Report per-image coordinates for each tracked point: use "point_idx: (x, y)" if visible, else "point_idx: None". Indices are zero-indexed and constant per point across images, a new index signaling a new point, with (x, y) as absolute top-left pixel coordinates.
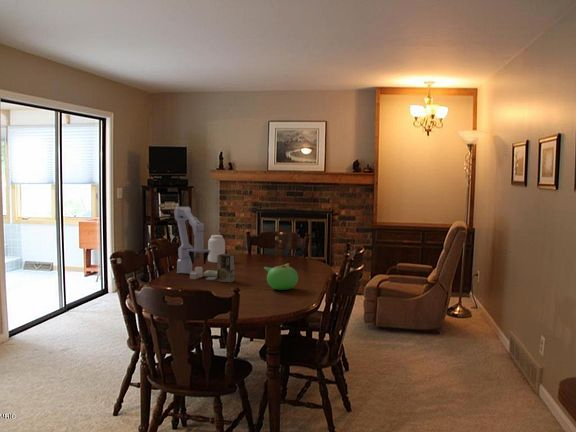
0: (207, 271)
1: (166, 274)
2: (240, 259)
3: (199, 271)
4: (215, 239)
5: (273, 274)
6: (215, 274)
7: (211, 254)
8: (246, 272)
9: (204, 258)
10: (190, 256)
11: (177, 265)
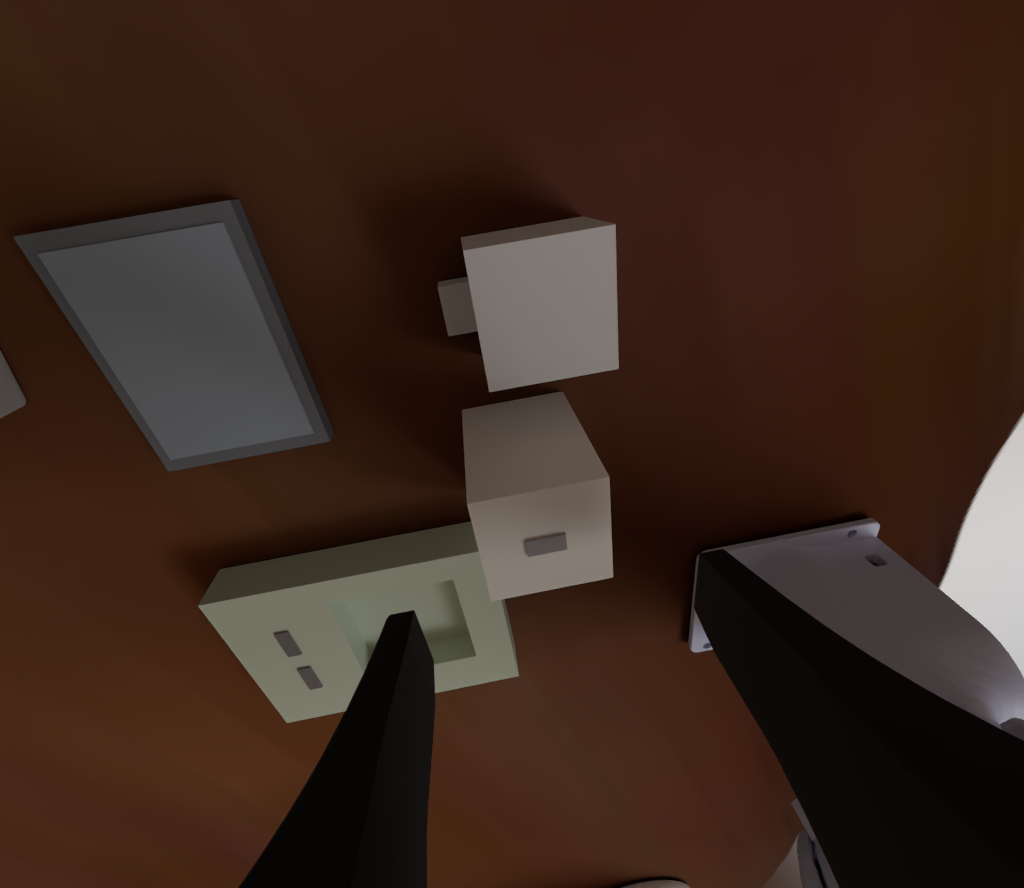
0: (480, 632)
1: (1003, 402)
2: None
3: (490, 457)
4: None
5: None
6: (299, 573)
7: None
8: (166, 807)
9: (340, 791)
10: (958, 727)
11: (953, 606)
